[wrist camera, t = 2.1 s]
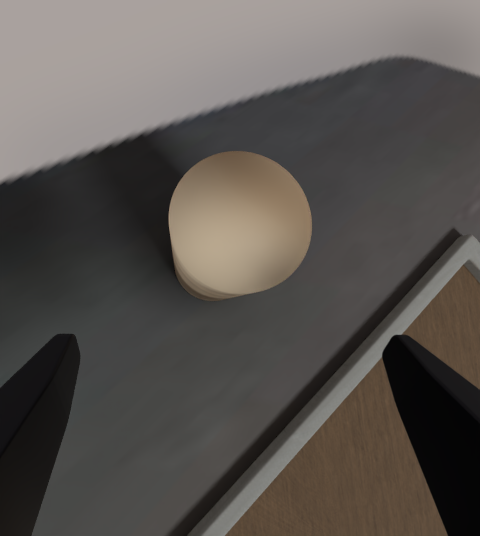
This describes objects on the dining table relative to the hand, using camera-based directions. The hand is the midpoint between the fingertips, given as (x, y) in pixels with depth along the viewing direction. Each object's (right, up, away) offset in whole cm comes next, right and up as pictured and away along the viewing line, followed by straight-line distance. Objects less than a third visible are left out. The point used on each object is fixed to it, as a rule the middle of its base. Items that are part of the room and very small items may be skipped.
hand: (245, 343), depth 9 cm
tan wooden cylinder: (-2, +2, +11) cm, 11 cm away
